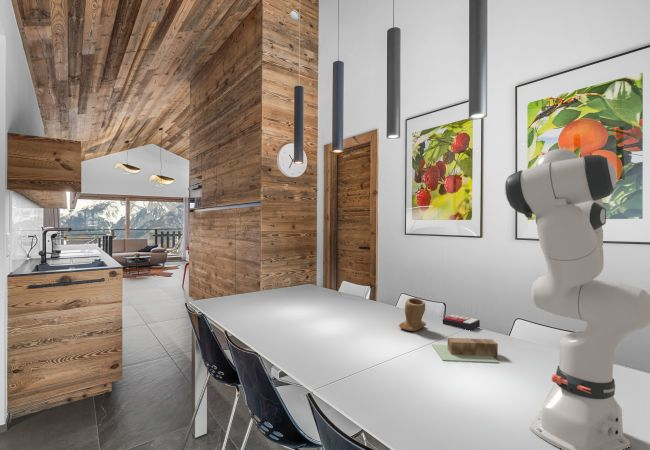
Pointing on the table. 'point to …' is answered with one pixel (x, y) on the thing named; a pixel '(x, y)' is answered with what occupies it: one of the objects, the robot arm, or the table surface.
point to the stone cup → (413, 314)
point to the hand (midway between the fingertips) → (585, 280)
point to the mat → (461, 356)
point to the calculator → (461, 322)
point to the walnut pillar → (472, 347)
